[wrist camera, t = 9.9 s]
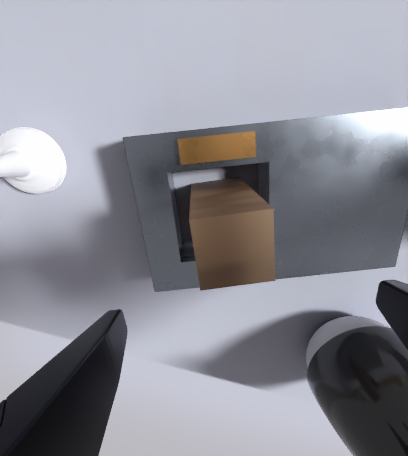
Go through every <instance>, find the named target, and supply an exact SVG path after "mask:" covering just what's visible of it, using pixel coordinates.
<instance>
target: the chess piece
mask: <svg viewBox="0 0 408 456" xmlns="http://www.w3.org/2000/svg"><path fill="white" fill-rule="evenodd" d="M65 176H66V160H65V157H64V154H63V152H62V150H61V149H60V147H59V146H58V144H57V143H56V142H55V141H54V140H53V139H52V138H51V137H50V136H48V135H47V134H46V133H44V132H42V131H40V130H37V129H34V128H30V127H19V128H14V129H10V130H8V131H6V132H4V133H3V134H2V135H1V136H0V177H4V178H5V179H6V180H7V181H8V182H9V183H10V184H11V185H12V186H14V187H15V188H17V189H19V190H21V191H24V192H27V193H33V194H40V193H47V192H50V191H53V190H55V189H56V188H58V187H59V186H60V185H61V184H62V182H63V180H64V178H65Z"/></svg>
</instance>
